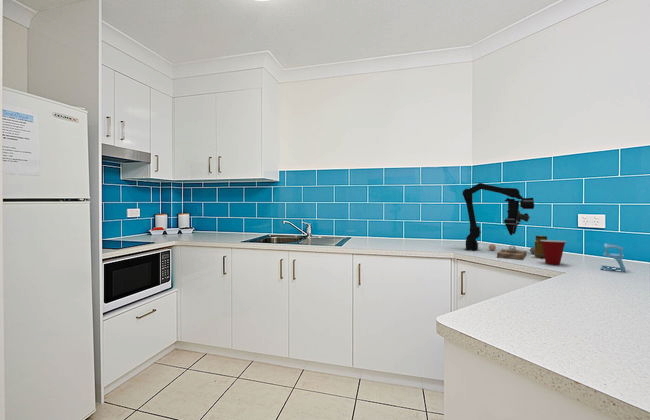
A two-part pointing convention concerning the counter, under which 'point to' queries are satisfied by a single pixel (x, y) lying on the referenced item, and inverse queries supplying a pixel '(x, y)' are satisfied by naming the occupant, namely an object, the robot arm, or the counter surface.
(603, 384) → the counter surface
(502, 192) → the robot arm
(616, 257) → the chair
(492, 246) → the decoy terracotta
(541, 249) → the condiment
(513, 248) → the steel ball
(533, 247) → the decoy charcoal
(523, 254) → the brown recessed board
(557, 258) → the plastic cup
